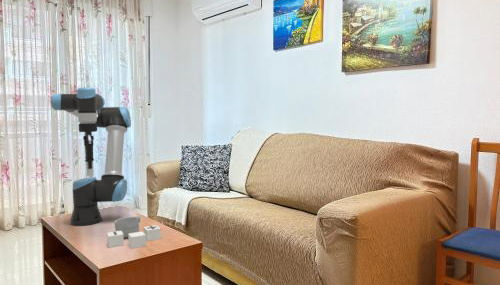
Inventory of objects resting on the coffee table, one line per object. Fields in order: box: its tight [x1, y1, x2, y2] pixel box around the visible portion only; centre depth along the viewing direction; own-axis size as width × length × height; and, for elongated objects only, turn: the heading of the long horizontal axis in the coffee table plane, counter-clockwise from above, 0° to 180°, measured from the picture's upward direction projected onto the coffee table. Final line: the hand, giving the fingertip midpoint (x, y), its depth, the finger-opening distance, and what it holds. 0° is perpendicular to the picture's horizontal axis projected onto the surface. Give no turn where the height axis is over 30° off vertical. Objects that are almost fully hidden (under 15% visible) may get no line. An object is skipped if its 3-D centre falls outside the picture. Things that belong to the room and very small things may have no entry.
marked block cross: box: [143, 224, 162, 242], centre depth 169 cm, size 6×6×5 cm
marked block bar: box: [106, 230, 125, 249], centre depth 162 cm, size 6×6×5 cm
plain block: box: [127, 231, 147, 250], centre depth 160 cm, size 6×6×5 cm
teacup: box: [114, 215, 141, 239], centre depth 174 cm, size 14×11×8 cm
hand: (90, 175), depth 166 cm, fingers closed
